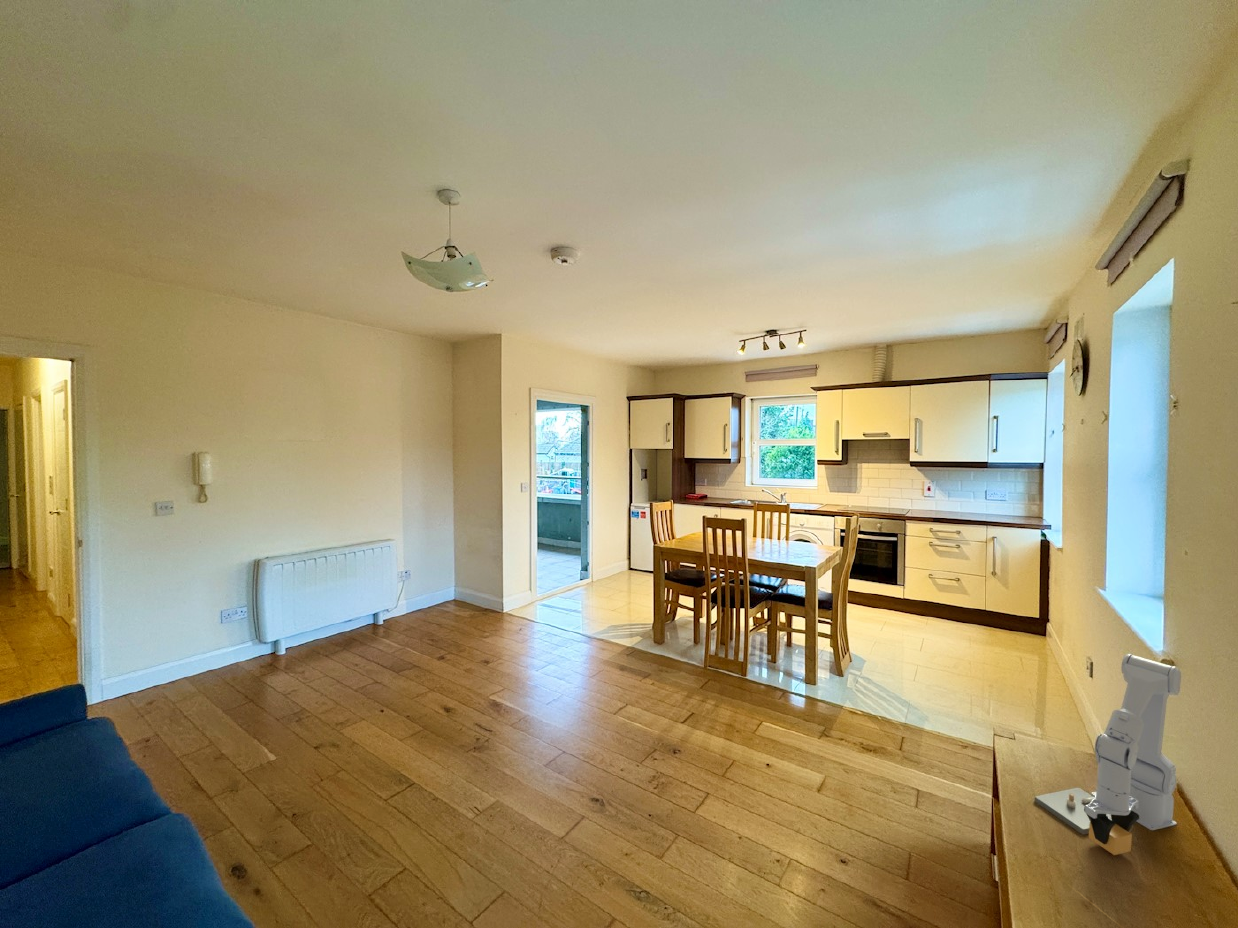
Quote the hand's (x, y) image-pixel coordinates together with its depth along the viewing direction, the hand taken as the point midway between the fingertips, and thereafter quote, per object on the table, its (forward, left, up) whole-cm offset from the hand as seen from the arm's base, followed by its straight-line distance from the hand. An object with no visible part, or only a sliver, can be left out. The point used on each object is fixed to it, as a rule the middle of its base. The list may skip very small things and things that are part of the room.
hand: (1109, 838), depth 124 cm
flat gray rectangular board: (-7, -11, -3) cm, 13 cm away
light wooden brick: (0, 0, -1) cm, 1 cm away
